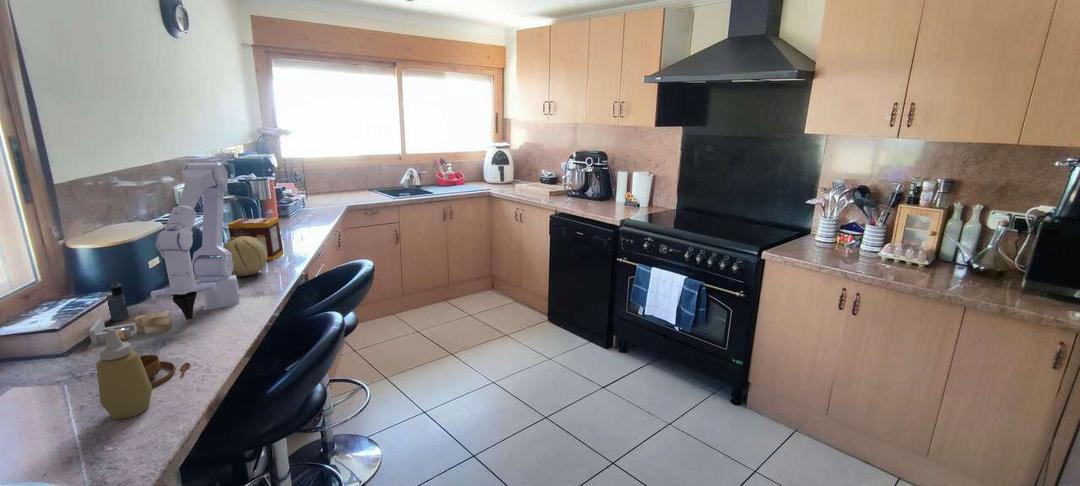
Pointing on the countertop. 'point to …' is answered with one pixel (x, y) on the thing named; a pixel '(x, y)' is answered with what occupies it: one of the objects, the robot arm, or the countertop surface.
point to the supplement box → (260, 233)
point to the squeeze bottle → (122, 379)
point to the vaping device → (117, 303)
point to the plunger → (121, 333)
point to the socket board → (132, 331)
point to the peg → (153, 322)
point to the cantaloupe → (246, 255)
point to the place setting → (154, 365)
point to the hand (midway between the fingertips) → (189, 318)
